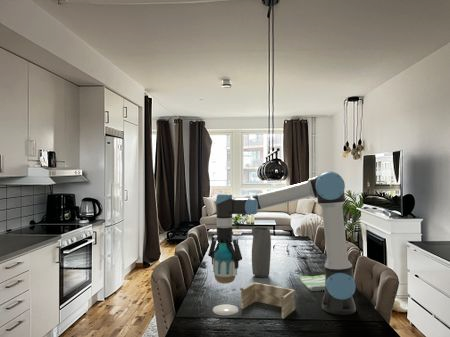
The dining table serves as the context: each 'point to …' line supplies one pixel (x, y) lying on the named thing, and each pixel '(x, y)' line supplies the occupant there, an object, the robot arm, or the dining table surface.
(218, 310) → the disc
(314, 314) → the dining table surface
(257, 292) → the light wood u-shaped piece
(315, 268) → the dining table surface
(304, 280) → the dish towel
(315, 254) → the dining table surface
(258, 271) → the vase
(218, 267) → the vase
